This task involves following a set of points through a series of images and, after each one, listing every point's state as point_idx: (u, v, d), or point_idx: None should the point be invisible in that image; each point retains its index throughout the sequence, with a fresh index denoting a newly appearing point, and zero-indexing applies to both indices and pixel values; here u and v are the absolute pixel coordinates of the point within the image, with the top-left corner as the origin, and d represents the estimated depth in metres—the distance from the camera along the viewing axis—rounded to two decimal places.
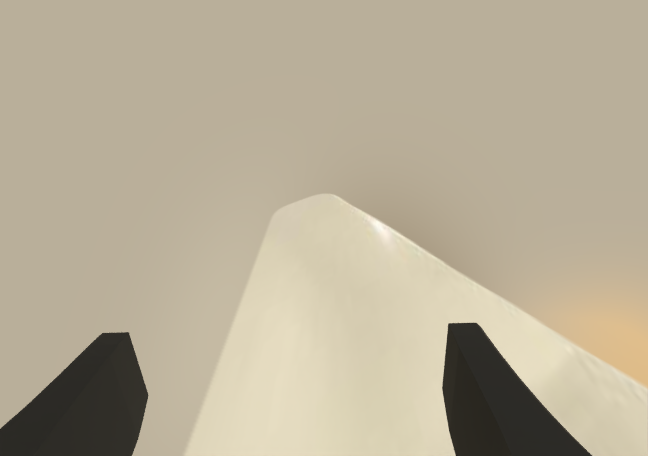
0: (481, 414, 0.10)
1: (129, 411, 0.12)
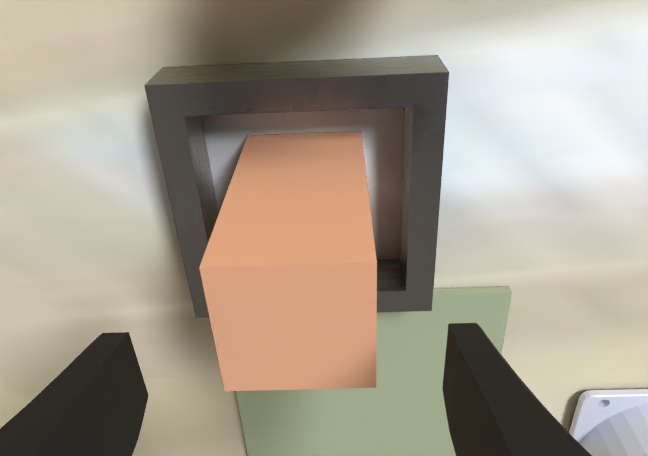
0: (481, 414, 0.10)
1: (129, 411, 0.12)
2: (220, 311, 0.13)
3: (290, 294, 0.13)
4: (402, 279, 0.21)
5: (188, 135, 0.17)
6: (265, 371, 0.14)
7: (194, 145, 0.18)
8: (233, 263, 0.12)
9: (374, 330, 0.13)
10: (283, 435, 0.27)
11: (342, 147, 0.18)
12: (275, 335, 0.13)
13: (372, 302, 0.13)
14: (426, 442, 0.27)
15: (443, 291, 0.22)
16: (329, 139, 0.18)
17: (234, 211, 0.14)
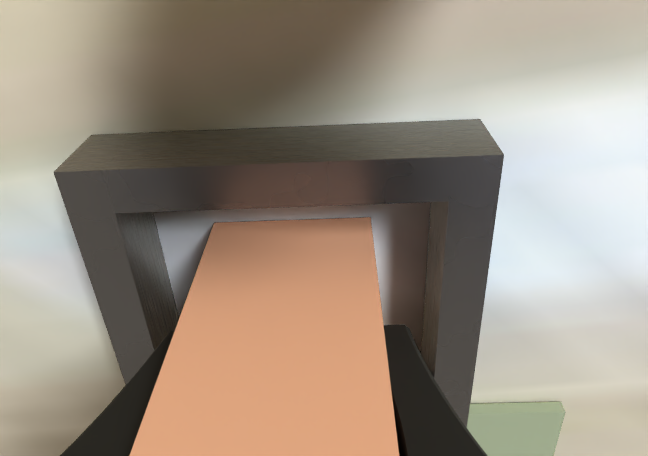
0: None
1: None
2: None
3: None
4: None
5: (124, 237, 0.12)
6: None
7: (135, 245, 0.12)
8: None
9: None
10: None
11: (345, 249, 0.13)
12: None
13: None
14: None
15: (475, 408, 0.17)
16: (326, 233, 0.13)
17: (177, 386, 0.09)
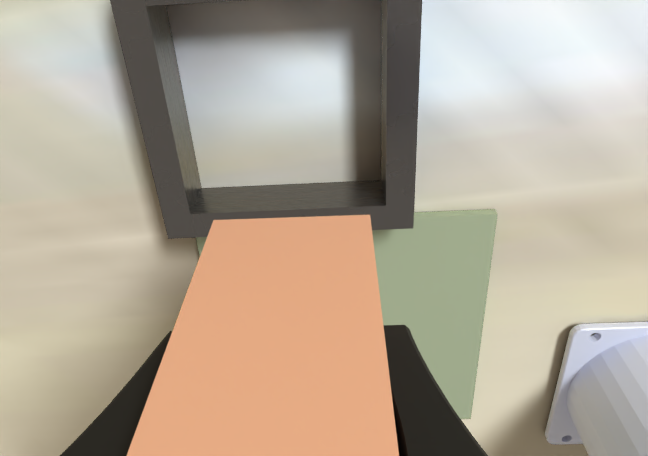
0: (394, 416, 0.10)
1: None
2: None
3: None
4: (382, 196, 0.20)
5: (152, 28, 0.16)
6: None
7: (159, 43, 0.17)
8: None
9: None
10: None
11: (345, 246, 0.12)
12: None
13: None
14: None
15: (426, 214, 0.21)
16: (325, 230, 0.13)
17: (176, 382, 0.09)
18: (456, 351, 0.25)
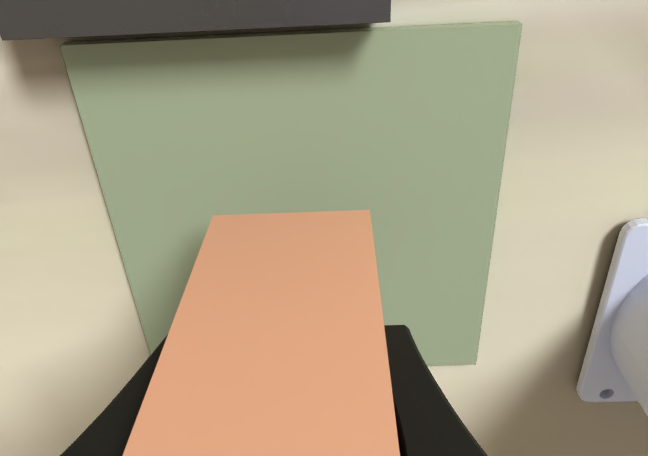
0: None
1: None
2: None
3: None
4: None
5: None
6: None
7: None
8: None
9: None
10: None
11: (344, 241, 0.12)
12: None
13: None
14: (396, 310, 0.19)
15: (414, 27, 0.14)
16: (325, 225, 0.13)
17: (175, 376, 0.09)
18: (457, 260, 0.18)
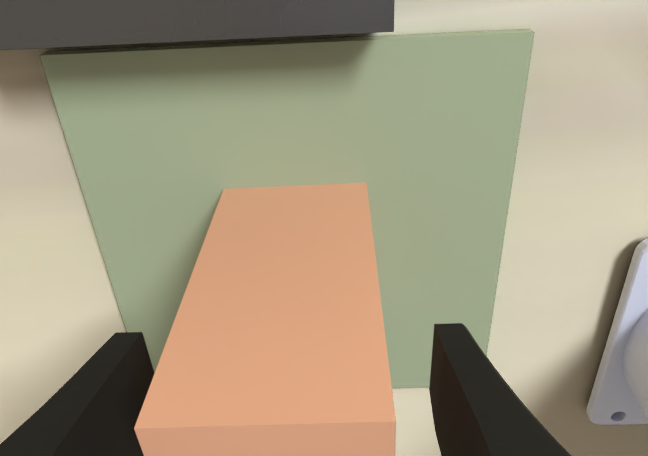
0: (464, 414, 0.10)
1: None
2: None
3: None
4: None
5: None
6: None
7: None
8: (184, 420, 0.08)
9: None
10: None
11: (343, 208, 0.14)
12: None
13: None
14: (399, 331, 0.18)
15: (418, 36, 0.13)
16: (325, 196, 0.14)
17: (195, 317, 0.10)
18: (463, 279, 0.17)
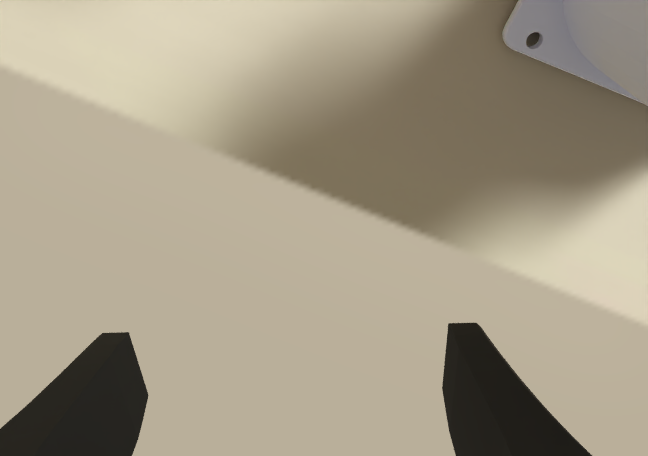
0: (481, 414, 0.10)
1: (129, 411, 0.12)
2: None
3: None
4: None
5: None
6: None
7: None
8: None
9: None
10: None
11: None
12: None
13: None
14: None
15: None
16: None
17: None
18: None
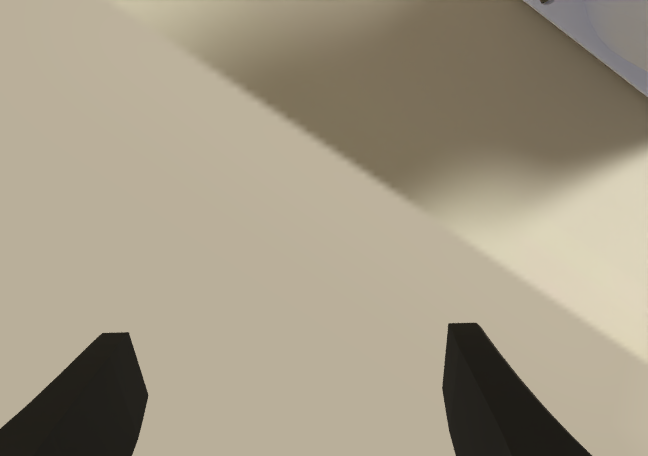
0: (481, 414, 0.10)
1: (129, 411, 0.12)
2: None
3: None
4: None
5: None
6: None
7: None
8: None
9: None
10: None
11: None
12: None
13: None
14: None
15: None
16: None
17: None
18: None
